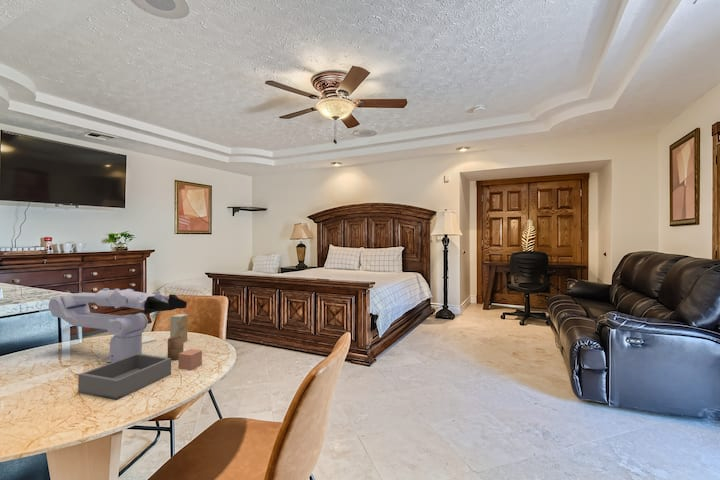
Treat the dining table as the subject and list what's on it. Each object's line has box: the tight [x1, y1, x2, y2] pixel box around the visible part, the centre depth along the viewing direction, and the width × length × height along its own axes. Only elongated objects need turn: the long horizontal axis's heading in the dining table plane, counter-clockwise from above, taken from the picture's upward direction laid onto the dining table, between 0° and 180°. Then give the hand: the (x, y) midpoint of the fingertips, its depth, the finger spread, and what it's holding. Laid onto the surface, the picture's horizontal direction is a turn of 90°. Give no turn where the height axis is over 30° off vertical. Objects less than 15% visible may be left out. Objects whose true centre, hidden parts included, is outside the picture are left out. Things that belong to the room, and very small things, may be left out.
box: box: [169, 313, 189, 343], centre depth 141 cm, size 5×4×11 cm
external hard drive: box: [142, 335, 157, 346], centre depth 139 cm, size 2×8×12 cm
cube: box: [177, 348, 203, 371], centre depth 115 cm, size 5×5×5 cm
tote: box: [77, 353, 172, 401], centre depth 102 cm, size 14×18×5 cm
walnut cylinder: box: [167, 336, 185, 361], centre depth 123 cm, size 5×5×7 cm
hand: (177, 306), depth 115 cm, fingers open, 7 cm apart
